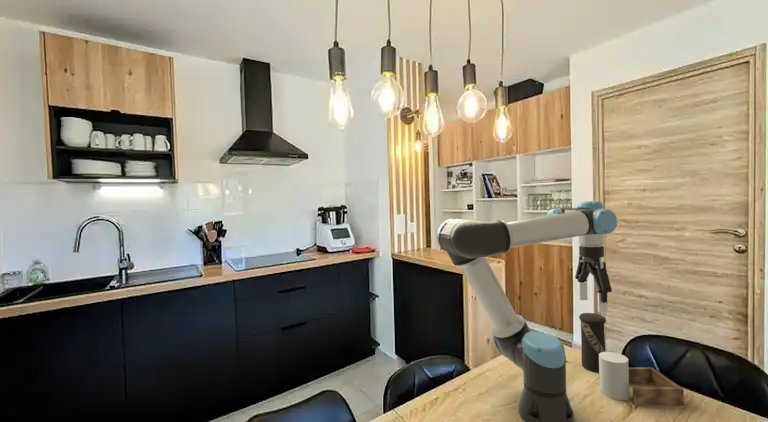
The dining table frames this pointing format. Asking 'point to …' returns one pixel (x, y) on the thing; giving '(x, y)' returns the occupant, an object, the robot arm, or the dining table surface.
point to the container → (592, 339)
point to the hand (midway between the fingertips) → (592, 305)
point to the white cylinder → (614, 375)
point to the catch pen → (654, 388)
